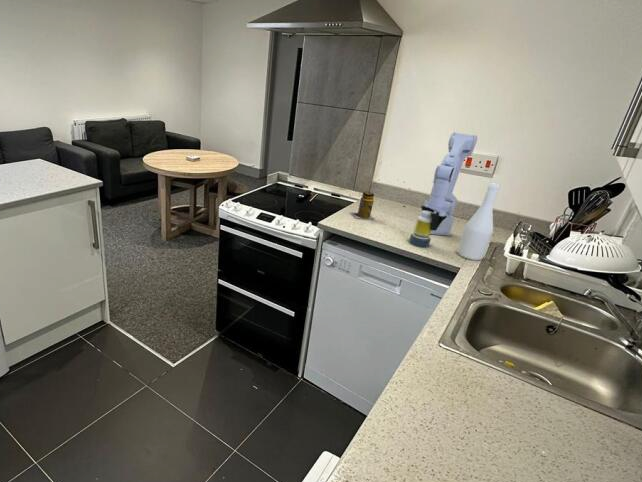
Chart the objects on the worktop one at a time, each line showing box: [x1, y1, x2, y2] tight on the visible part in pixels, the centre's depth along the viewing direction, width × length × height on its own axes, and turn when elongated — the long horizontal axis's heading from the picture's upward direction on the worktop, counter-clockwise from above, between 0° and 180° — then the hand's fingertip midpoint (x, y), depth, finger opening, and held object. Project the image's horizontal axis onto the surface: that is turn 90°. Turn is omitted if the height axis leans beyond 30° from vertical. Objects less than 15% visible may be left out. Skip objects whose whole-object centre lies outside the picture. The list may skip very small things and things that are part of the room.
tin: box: [408, 233, 431, 248], centre depth 165 cm, size 8×8×3 cm
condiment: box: [351, 191, 375, 220], centre depth 190 cm, size 7×8×12 cm
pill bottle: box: [412, 210, 433, 239], centre depth 162 cm, size 6×6×11 cm
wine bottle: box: [457, 182, 501, 261], centre depth 152 cm, size 10×10×30 cm
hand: (429, 226), depth 162 cm, fingers open, 7 cm apart
